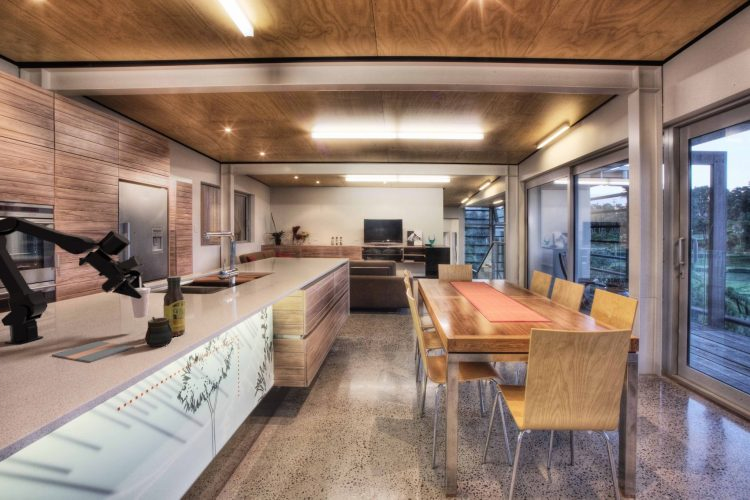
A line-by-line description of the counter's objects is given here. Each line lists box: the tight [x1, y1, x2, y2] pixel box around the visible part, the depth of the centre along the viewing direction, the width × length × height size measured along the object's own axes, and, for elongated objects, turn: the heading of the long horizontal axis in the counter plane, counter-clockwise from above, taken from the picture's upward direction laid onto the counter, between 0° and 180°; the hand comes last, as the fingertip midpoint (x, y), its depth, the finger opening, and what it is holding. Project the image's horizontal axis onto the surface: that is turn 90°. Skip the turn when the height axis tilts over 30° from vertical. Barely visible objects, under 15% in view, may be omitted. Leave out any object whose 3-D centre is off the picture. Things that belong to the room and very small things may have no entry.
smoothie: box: [130, 277, 152, 319], centre depth 117 cm, size 6×6×14 cm
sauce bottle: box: [163, 275, 186, 337], centre depth 114 cm, size 6×6×20 cm
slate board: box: [51, 340, 136, 364], centre depth 99 cm, size 16×12×1 cm
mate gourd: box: [144, 316, 174, 348], centre depth 104 cm, size 7×8×10 cm
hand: (144, 296), depth 117 cm, fingers closed on smoothie, 6 cm apart
